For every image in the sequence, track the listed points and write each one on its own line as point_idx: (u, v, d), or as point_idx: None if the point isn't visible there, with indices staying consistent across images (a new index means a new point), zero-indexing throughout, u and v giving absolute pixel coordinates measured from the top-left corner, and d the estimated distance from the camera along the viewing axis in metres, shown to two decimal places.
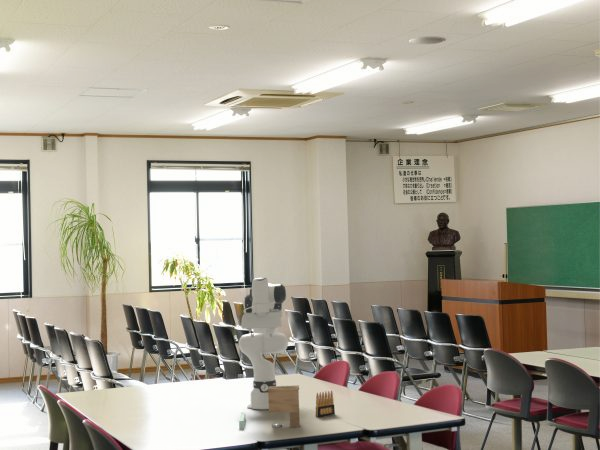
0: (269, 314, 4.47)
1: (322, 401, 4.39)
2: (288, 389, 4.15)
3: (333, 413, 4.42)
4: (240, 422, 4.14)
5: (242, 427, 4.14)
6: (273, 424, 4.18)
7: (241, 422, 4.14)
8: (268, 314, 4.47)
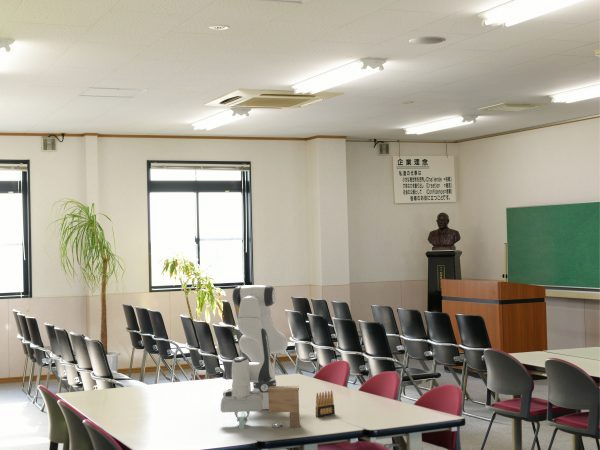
0: (250, 397, 4.24)
1: (322, 401, 4.39)
2: (288, 389, 4.15)
3: (333, 413, 4.42)
4: (240, 422, 4.14)
5: (242, 427, 4.14)
6: (273, 424, 4.18)
7: (241, 422, 4.14)
8: (249, 397, 4.24)
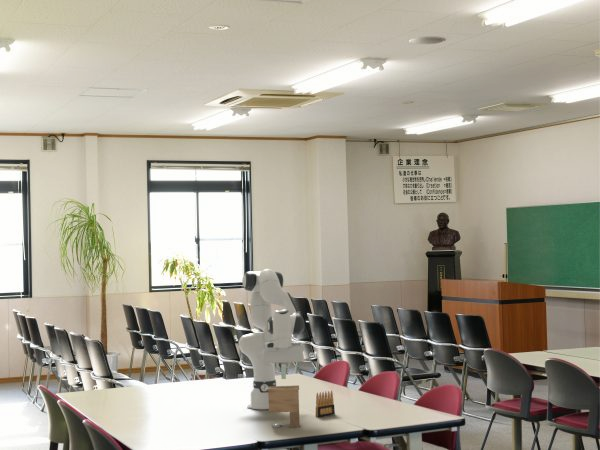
0: (291, 348, 4.33)
1: (322, 401, 4.39)
2: (288, 389, 4.15)
3: (333, 413, 4.42)
4: (282, 371, 4.24)
5: (284, 376, 4.24)
6: (273, 424, 4.18)
7: (283, 371, 4.24)
8: (290, 348, 4.33)
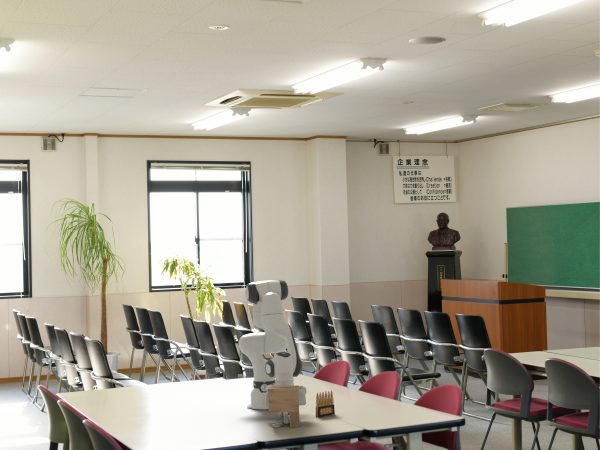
0: None
1: (322, 401, 4.39)
2: (288, 389, 4.15)
3: (333, 413, 4.42)
4: (284, 416, 4.21)
5: (286, 421, 4.21)
6: (273, 424, 4.18)
7: (285, 416, 4.21)
8: None
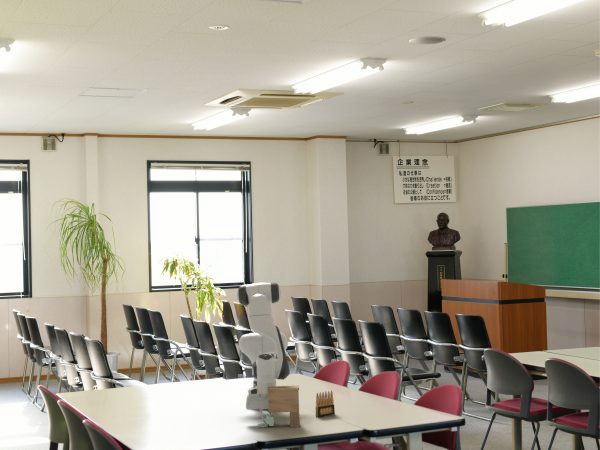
0: None
1: (322, 401, 4.39)
2: (288, 389, 4.15)
3: (333, 413, 4.42)
4: (270, 418, 4.16)
5: (272, 423, 4.16)
6: (259, 424, 4.17)
7: (271, 418, 4.16)
8: None
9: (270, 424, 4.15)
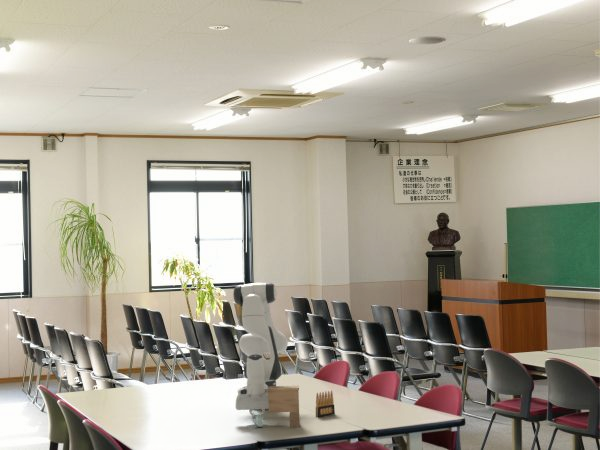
0: (265, 395, 4.25)
1: (322, 401, 4.39)
2: (288, 389, 4.15)
3: (333, 413, 4.42)
4: (259, 419, 4.15)
5: (261, 424, 4.15)
6: (248, 425, 4.17)
7: (260, 419, 4.15)
8: (264, 395, 4.25)
9: (259, 425, 4.15)
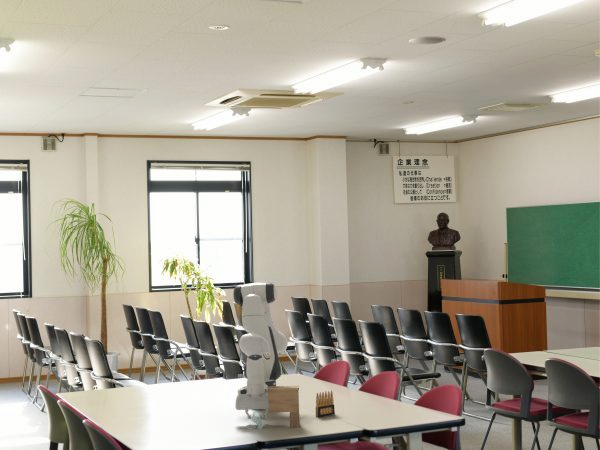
0: (265, 395, 4.25)
1: (322, 401, 4.39)
2: (288, 389, 4.15)
3: (333, 413, 4.42)
4: (259, 421, 4.15)
5: (261, 426, 4.15)
6: (248, 425, 4.17)
7: (260, 421, 4.15)
8: (264, 395, 4.25)
9: (259, 427, 4.15)
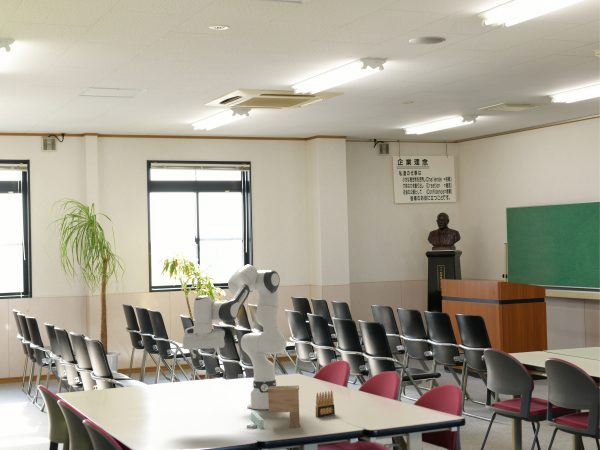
0: (211, 334, 4.33)
1: (322, 401, 4.39)
2: (288, 389, 4.15)
3: (333, 413, 4.42)
4: (261, 421, 4.15)
5: (263, 426, 4.15)
6: (248, 425, 4.17)
7: (262, 421, 4.15)
8: (210, 334, 4.33)
9: (261, 427, 4.15)
